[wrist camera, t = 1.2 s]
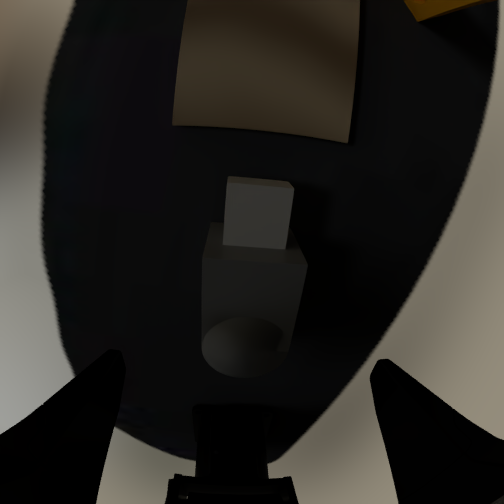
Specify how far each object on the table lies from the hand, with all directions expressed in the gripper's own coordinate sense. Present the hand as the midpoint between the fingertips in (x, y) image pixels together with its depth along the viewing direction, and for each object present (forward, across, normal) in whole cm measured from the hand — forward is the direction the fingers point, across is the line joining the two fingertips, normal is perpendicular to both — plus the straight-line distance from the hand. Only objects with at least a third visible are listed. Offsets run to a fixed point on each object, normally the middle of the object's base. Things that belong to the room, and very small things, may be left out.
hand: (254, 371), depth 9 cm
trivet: (+7, 0, -12) cm, 14 cm away
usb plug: (+7, 0, -1) cm, 7 cm away
